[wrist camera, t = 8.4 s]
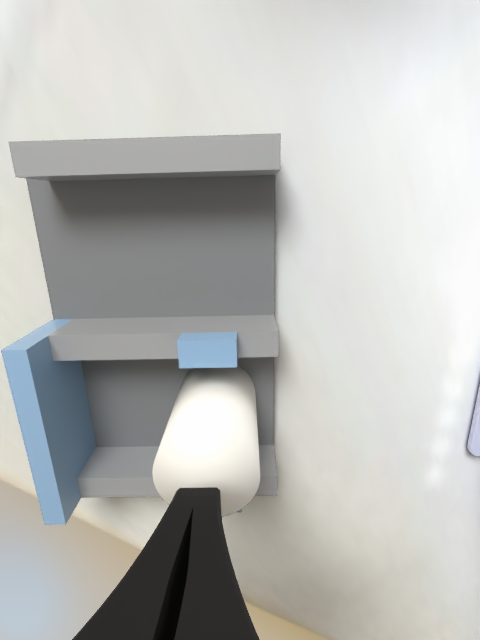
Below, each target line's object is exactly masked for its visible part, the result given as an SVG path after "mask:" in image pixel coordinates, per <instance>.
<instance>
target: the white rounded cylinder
mask: <svg viewBox="0 0 480 640" xmlns="http://www.w3.org/2000/svg"><path fill="white" fill-rule="evenodd" d="M152 475H153V481H154V485H155V487H156V489H157V491H158V493H159V494H160V496H161V497H162V498H163V500H164V501H165V502H166V503H168V504H169V505H170V503H171V501H172V499H173V497H174V495H175V493H176V491H177V490H178V489H179V488H207V487H217V488H218V489H219V490H220V495H221V514H222V517H224V516H227V515H230V514H233V513H235V512H237V511H239V510H240V509H242V508H243V507H245V506H246V505H247V504H248V503H249V502H250V501H251V500H252V498H253V497H254V496H255V494H256V492H257V490H258V487H259V483H260V462H259V445H258V428H257V411H256V394H255V387H254V383H253V381H252V379H251V377H250V376H249V375H248V373H247V372H246V371H245V370H244V369H242V368H241V367H240V366H238V365H237V367H231V368H192V369H191V370H190V371H189V372H188V373H187V374H186V376H185V377H184V379H183V382H182V384H181V387H180V390H179V393H178V396H177V398H176V401H175V404H174V407H173V410H172V412H171V415H170V418H169V421H168V424H167V426H166V429H165V432H164V435H163V438H162V440H161V443H160V446H159V449H158V452H157V454H156V457H155V460H154V464H153V470H152Z"/></svg>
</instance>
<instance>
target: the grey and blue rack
mask: <svg viewBox="0 0 480 640" xmlns="http://www.w3.org/2000/svg"><path fill="white" fill-rule="evenodd" d="M280 140H281V134H250V135H217V136H184V137H151V138H118V139H85V140H53V141H20V142H9V147H10V152H11V156H12V161H13V166H14V171H15V176H16V177H20V178H26V180H27V185H28V190H29V195H30V200H31V205H32V211H33V216H34V221H35V226H36V231H37V236H38V241H39V246H40V251H41V257H42V262H43V267H44V272H45V277H46V282H47V287H48V292H49V297H50V303H51V308H52V313H53V318H54V320H52V321H50V322H48V323H47V324H45V325H43V326H42V327H40V328H38V329H36V330H35V331H33V332H31V333H30V334H28V335H26V336H24V337H23V338H21V339H19V340H18V341H16V342H14V343H13V344H11V345H9V346H7V347H6V348H4V349H2V350H1V352H2V356H3V360H4V364H5V368H6V372H7V376H8V380H9V384H10V388H11V392H12V396H13V400H14V404H15V408H16V412H17V416H18V420H19V424H20V428H21V432H22V436H23V440H24V444H25V448H26V452H27V456H28V460H29V464H30V468H31V472H32V476H33V480H34V484H35V488H36V492H37V496H38V500H39V503H40V508H41V512H42V516H43V520H44V524H45V525H56V524H57V525H59V524H60V525H61V524H66V523H67V521H68V520H69V518H70V516H71V514H72V513H73V511H74V509H75V507H76V506H77V504H78V502H79V500H80V498H86V497H161V496H160V494H159V493H158V491H157V489H156V487H155V485H154V481H153V475H152V470H153V464H154V460H155V457H156V454H157V452H158V449H159V446H160V443H161V440H162V438H163V435H164V432H165V429H166V426H167V424H168V421H169V418H170V415H171V412H172V410H173V407H174V404H175V401H176V398H177V396H178V393H179V390H180V387H181V384H182V382H183V379H184V377H185V376H186V374H187V373H188V372H189V371H190V370H191V369H192V368H231V367H237V365H238V366H240V367H241V368H242V369H244V370H245V371H246V372H247V373H248V375H249V376H250V377H251V379H252V381H253V383H254V387H255V394H256V411H257V428H258V445H259V462H260V483H259V487H258V490H257V492H256V494H255V496H267V495H277V480H278V476H277V468H276V459H275V451H274V357H279V330H278V326H277V323H276V319H275V316H274V266H275V174H276V173H277V172H278V171H279V170H280ZM237 512H242V509H240V510H239V511H237Z"/></svg>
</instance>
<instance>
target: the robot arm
mask: <svg viewBox="0 0 480 640" xmlns="http://www.w3.org/2000/svg"><path fill="white" fill-rule="evenodd" d="M467 449H468V450H469V451H470V453H471V454H472V455H474V456H480V386H479V391H478V395H477V400H476V405H475V410H474V415H473V420H472V425H471V430H470V435H469V440H468V445H467ZM72 640H259V637H258V635H257V633H256V631H255V628H254V626H253V623H252V621H251V618H250V616H249V613H248V610H247V608H246V605H245V602H244V600H243V597H242V594H241V591H240V588H239V585H238V582H237V579H236V576H235V573H234V569H233V566H232V563H231V559H230V556H229V552H228V548H227V544H226V539H225V535H224V530H223V525H222V514H221V495H220V490H219V489H218V488H217V487H207V488H179V489H178V490H177V491H176V493H175V495H174V497H173V499H172V501H171V503H170V505H169V507H168V509H167V510H166V512H165V514H164V516H163V518H162V519H161V521H160V523H159V524H158V526H157V528H156V529H155V531H154V533H153V534H152V536H151V537H150V539H149V541H148V542H147V544H146V545H145V547H144V548H143V550H142V551H141V553H140V554H139V556H138V557H137V559H136V560H135V562H134V563H133V565H132V566H131V567H130V569H129V570H128V572H127V573H126V575H125V576H124V577H123V579H122V580H121V581H120V583H119V584H118V585H117V587H116V588H115V589H114V590H113V592H112V593H111V594H110V596H109V597H108V598H107V599H106V601H105V602H104V603H103V604H102V606H101V607H100V608H99V609H98V610H97V612H96V613H95V614H94V615H93V616H92V618H91V619H90V620H89V621H88V622H87V623H86V624H85V626H84V627H83V628H82V629H81V631H79V633H78V634H77V635H76V636H75V637H74V638H73V639H72Z"/></svg>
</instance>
